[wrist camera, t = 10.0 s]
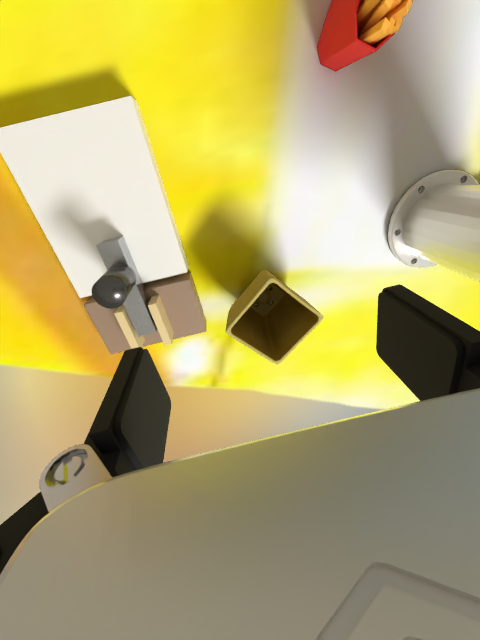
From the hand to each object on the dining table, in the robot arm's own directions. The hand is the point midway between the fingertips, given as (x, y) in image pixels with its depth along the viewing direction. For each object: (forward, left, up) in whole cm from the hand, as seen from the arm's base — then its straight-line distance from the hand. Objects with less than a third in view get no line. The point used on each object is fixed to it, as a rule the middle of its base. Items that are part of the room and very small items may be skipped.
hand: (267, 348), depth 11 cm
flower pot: (-3, +11, -28) cm, 31 cm away
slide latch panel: (+13, -1, -28) cm, 31 cm away
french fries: (-16, -16, -28) cm, 36 cm away
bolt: (+13, +4, -25) cm, 29 cm away
